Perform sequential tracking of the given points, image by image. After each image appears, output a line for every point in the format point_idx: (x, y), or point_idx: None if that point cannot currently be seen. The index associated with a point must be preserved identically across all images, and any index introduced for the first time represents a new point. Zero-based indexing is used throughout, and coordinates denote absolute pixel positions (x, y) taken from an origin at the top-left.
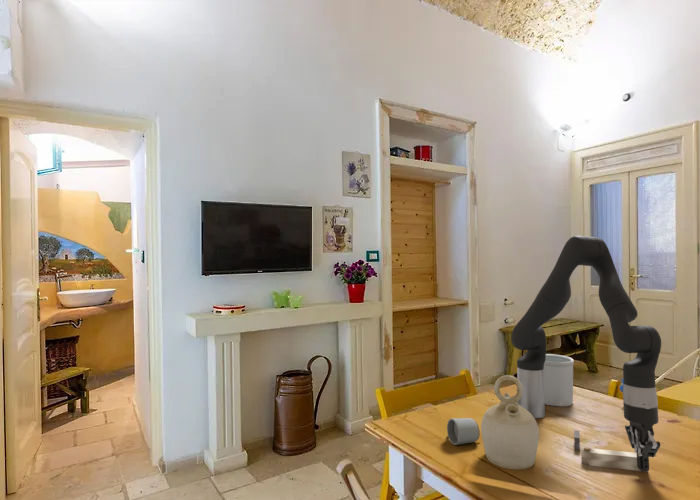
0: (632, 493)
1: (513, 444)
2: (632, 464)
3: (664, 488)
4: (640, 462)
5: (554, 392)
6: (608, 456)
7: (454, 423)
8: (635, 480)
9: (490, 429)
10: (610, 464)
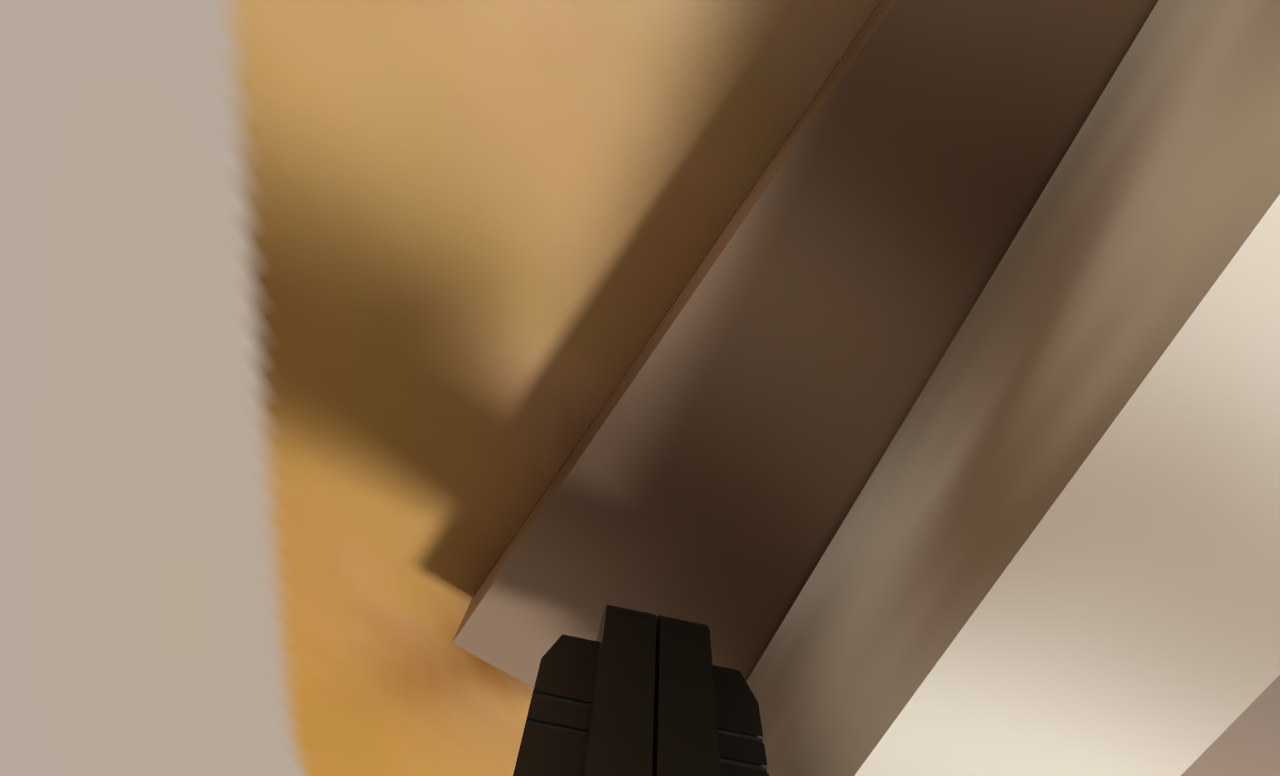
0: (268, 98)
1: None
2: (835, 626)
3: (421, 631)
4: (590, 720)
5: None
6: (1178, 263)
7: None
8: None
9: None
10: (1038, 260)
